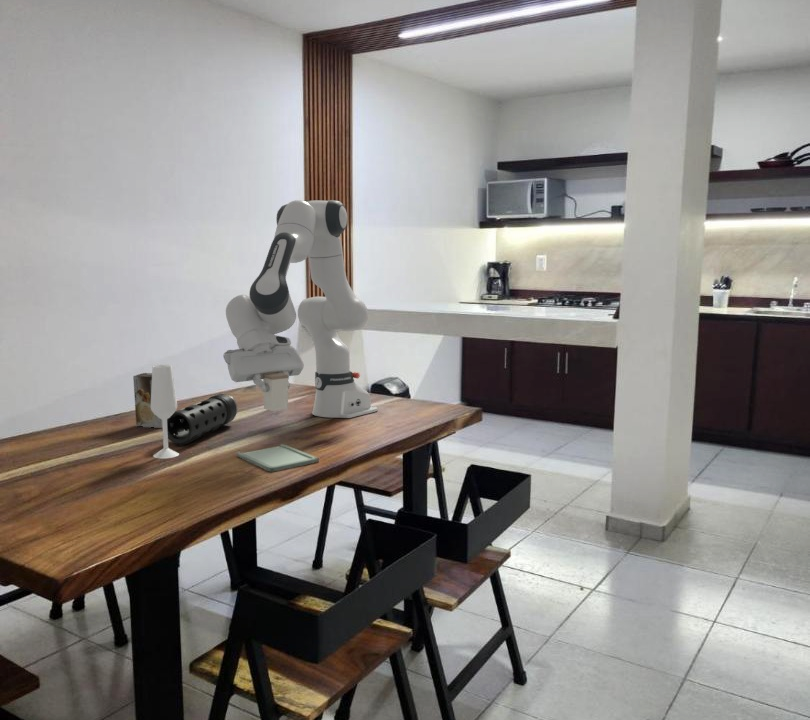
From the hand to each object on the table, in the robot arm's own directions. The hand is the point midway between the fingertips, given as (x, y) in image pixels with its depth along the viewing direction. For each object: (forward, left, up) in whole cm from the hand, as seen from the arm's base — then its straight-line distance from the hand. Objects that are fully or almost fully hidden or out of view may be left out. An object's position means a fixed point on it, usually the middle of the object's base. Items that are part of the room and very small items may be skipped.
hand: (276, 389), depth 186 cm
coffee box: (+11, -58, -19) cm, 62 cm away
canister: (0, -1, -5) cm, 5 cm away
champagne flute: (+21, -23, -19) cm, 36 cm away
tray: (0, -1, -19) cm, 19 cm away
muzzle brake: (+4, -37, -19) cm, 41 cm away
